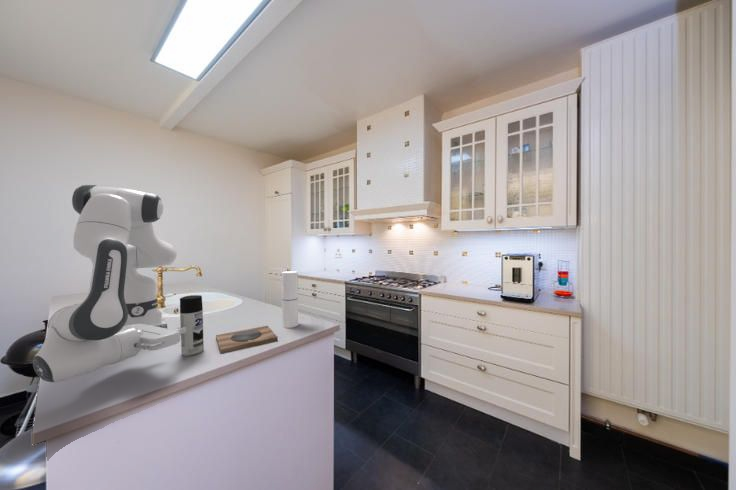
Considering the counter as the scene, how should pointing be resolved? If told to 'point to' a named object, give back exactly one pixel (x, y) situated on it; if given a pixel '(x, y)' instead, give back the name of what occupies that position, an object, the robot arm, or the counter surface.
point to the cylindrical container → (289, 299)
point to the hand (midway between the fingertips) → (175, 327)
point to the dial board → (245, 338)
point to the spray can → (191, 325)
